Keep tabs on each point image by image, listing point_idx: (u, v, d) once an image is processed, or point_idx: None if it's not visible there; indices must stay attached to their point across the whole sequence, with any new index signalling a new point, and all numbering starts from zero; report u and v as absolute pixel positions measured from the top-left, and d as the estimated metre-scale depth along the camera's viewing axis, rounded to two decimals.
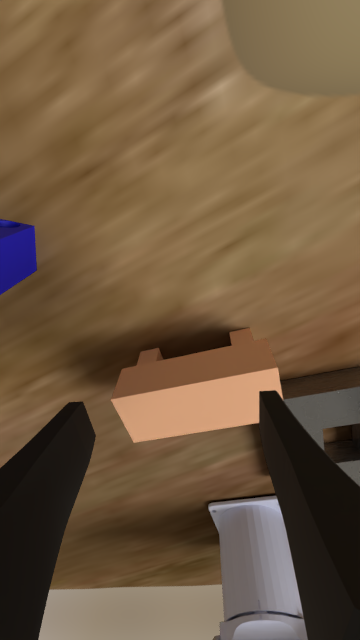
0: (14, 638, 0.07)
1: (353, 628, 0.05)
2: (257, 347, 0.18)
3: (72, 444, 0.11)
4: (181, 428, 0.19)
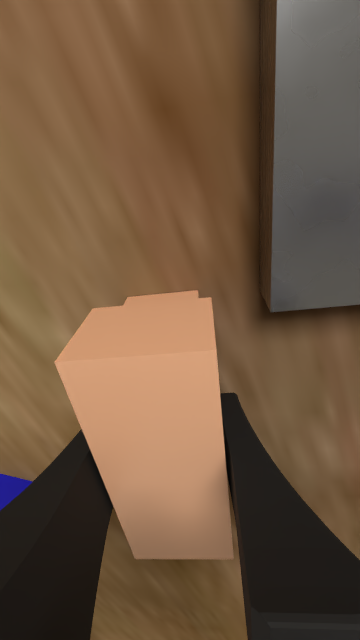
0: None
1: (255, 626, 0.05)
2: None
3: None
4: (212, 509, 0.10)
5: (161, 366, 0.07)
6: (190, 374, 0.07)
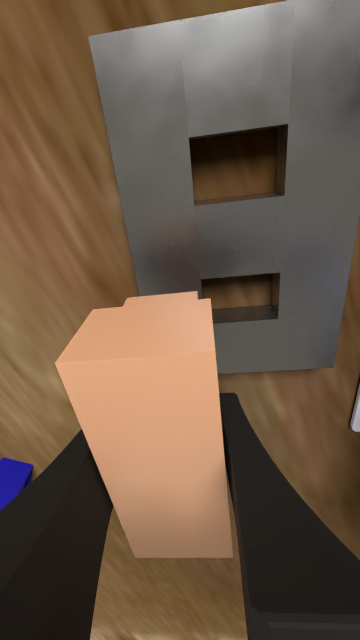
0: None
1: (255, 626, 0.05)
2: None
3: None
4: (211, 508, 0.10)
5: (160, 367, 0.07)
6: (190, 375, 0.07)
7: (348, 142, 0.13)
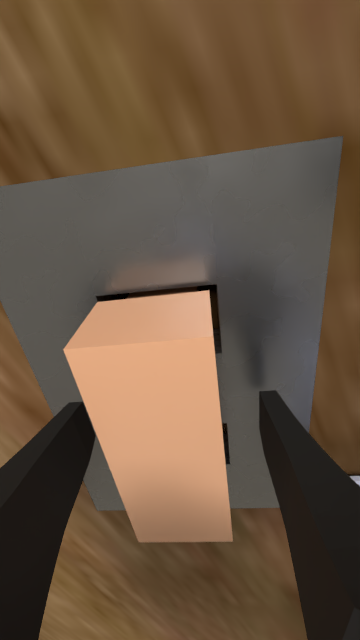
0: (14, 638, 0.07)
1: (353, 629, 0.05)
2: None
3: (72, 444, 0.11)
4: (211, 491, 0.10)
5: (162, 352, 0.08)
6: (189, 360, 0.08)
7: (294, 303, 0.11)
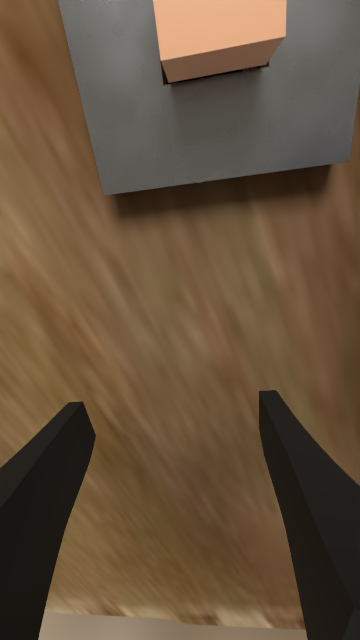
0: (14, 638, 0.07)
1: (352, 628, 0.05)
2: None
3: (72, 444, 0.11)
4: None
5: None
6: None
7: None
